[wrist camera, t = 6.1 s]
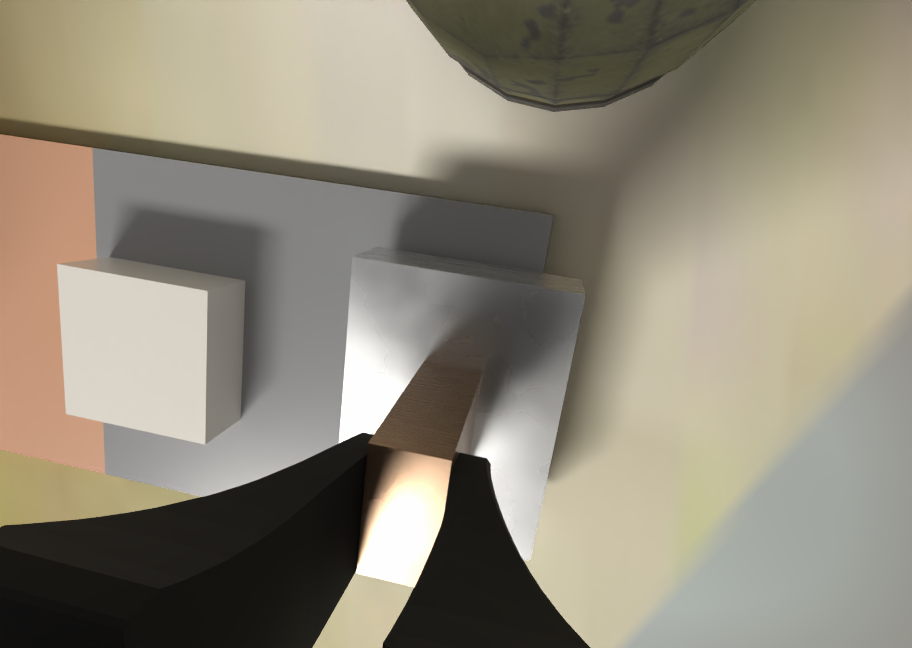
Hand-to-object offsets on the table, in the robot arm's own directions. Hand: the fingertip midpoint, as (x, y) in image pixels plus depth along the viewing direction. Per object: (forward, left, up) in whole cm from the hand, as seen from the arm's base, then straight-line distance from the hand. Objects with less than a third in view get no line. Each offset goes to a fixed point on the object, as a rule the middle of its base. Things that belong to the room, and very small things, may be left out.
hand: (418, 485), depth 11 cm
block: (-10, 0, -6) cm, 12 cm away
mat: (-10, 0, -6) cm, 11 cm away
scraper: (0, 0, -5) cm, 5 cm away
